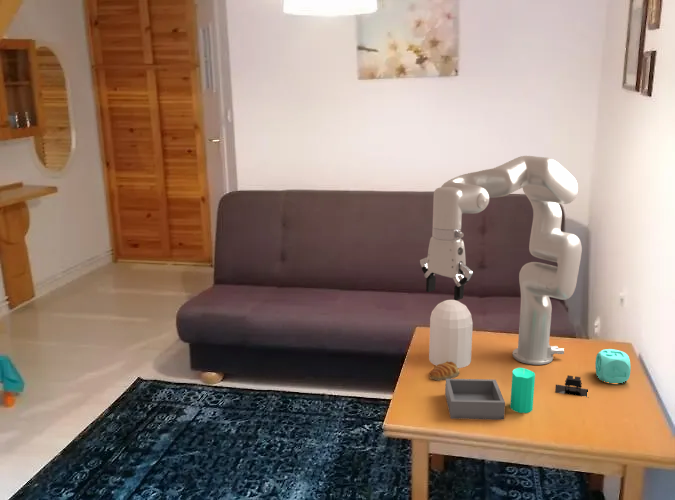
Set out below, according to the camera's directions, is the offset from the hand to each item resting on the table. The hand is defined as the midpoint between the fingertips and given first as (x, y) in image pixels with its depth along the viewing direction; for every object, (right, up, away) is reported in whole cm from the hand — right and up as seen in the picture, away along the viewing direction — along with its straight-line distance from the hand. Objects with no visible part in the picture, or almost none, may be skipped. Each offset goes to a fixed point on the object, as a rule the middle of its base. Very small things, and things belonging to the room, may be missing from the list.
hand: (444, 295), depth 181 cm
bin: (+8, -31, +2) cm, 32 cm away
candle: (+21, -31, +1) cm, 38 cm away
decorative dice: (+53, -27, +19) cm, 62 cm away
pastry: (+3, -26, +21) cm, 34 cm away
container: (+7, -23, +33) cm, 41 cm away
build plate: (+39, -29, +11) cm, 50 cm away
